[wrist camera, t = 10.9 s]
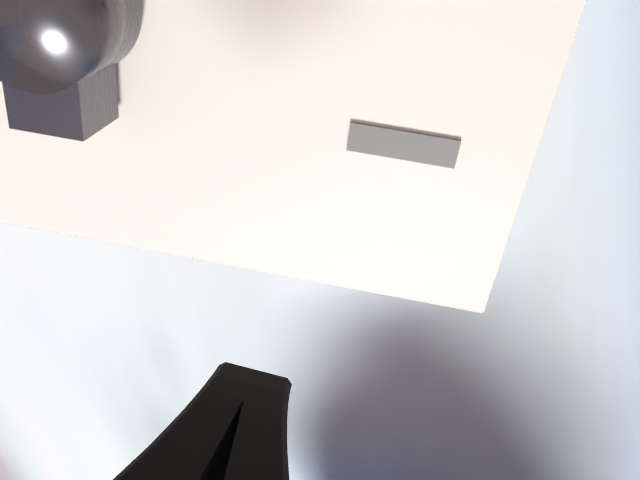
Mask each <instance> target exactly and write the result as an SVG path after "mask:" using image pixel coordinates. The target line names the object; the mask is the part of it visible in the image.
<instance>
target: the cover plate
mask: <svg viewBox="0 0 640 480" xmlns="http://www.w3.org/2000/svg"><path fill="white" fill-rule="evenodd" d="M586 1H587V0H142V24H141V30H140V33H139V36H138V39H137V41H136V43H135V45H134V47H133V48H132V50H131V51H130V52H129V54H128V55H127V56H126V57H125V58H124V59H122V60H121V61H120V62H118V63H116V75H117V92H118V110H119V118H117V119H116V120H114V121H113V122H111V123H110V124H109V125H107V126H106V127H104V128H103V129H101V130H100V131H98V132H97V133H95V134H94V135H92V136H91V137H90V138H88V139H87V140H85V141H84V142H83V141H77V140H72V139H66V138H60V137H55V136H49V135H43V134H38V133H32V132H26V131H21V130H15V129H10V128H9V124H8V117H7V111H6V105H5V98H4V92H3V86H2V82H1V81H0V222H1V223H7V224H12V225H17V226H22V227H28V228H33V229H38V230H44V231H49V232H54V233H60V234H65V235H70V236H75V237H81V238H86V239H91V240H97V241H102V242H107V243H113V244H118V245H123V246H128V247H134V248H139V249H144V250H150V251H155V252H160V253H166V254H171V255H176V256H181V257H187V258H192V259H197V260H203V261H208V262H213V263H219V264H224V265H229V266H234V267H240V268H245V269H250V270H256V271H261V272H266V273H272V274H277V275H282V276H287V277H293V278H298V279H303V280H309V281H314V282H319V283H325V284H330V285H335V286H340V287H346V288H351V289H356V290H362V291H367V292H372V293H378V294H383V295H388V296H393V297H399V298H404V299H409V300H415V301H420V302H425V303H431V304H436V305H441V306H446V307H452V308H457V309H462V310H468V311H473V312H478V313H484V310H485V307H486V304H487V301H488V298H489V295H490V292H491V289H492V286H493V283H494V280H495V277H496V274H497V270H498V267H499V264H500V261H501V258H502V255H503V252H504V249H505V246H506V243H507V240H508V237H509V234H510V231H511V228H512V225H513V222H514V219H515V216H516V213H517V210H518V207H519V204H520V201H521V198H522V195H523V192H524V189H525V186H526V183H527V179H528V176H529V173H530V170H531V167H532V164H533V161H534V158H535V155H536V152H537V149H538V146H539V143H540V140H541V137H542V134H543V131H544V128H545V125H546V122H547V119H548V116H549V113H550V110H551V107H552V104H553V101H554V98H555V95H556V92H557V88H558V85H559V82H560V79H561V76H562V73H563V70H564V67H565V64H566V61H567V58H568V55H569V52H570V49H571V46H572V43H573V40H574V37H575V34H576V31H577V28H578V25H579V22H580V19H581V16H582V13H583V10H584V7H585V4H586Z"/></svg>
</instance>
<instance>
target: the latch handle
mask: <svg viewBox="0 0 640 480" xmlns="http://www.w3.org/2000/svg"><path fill="white" fill-rule="evenodd" d="M141 24H142V0H0V81H1V82H2V86H3V92H4V98H5V105H6V111H7V117H8V124H9V128H10V129H15V130H21V131H26V132H32V133H38V134H43V135H49V136H55V137H60V138H66V139H72V140H77V141H83V142H84V141H85V140H87V139H88V138H90V137H91V136H92V135H94V134H95V133H97V132H98V131H100V130H101V129H103V128H104V127H106V126H107V125H109V124H110V123H111V122H113V121H114V120H116V119H117V118H119V110H118V92H117V75H116V63H118V62H120V61H121V60H122V59H124V58H125V57H126V56H127V55H128V54H129V52H130V51H131V50H132V48H133V47H134V45H135V43H136V41H137V39H138V36H139V33H140V30H141Z"/></svg>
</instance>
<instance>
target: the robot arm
mask: <svg viewBox="0 0 640 480" xmlns="http://www.w3.org/2000/svg"><path fill="white" fill-rule="evenodd" d="M291 385H292V384H291V383H290V381H289V380H288V378H285V377H281V376H277V375H273V374H269V373H265V372H262V371H258V370H254V369H250V368H246V367H242V366H238V365H235V364H231V363H227V362H225V363H223V364H221V365H219V366H218V368H217V369H216V371H215V372H214V373H213V375H212V376H211V377H210V379H209V380H208V381H207V383H206V384H205V385H204V386H203V388H202V389H201V390H200V391H199V393H198V394H197V395H196V396H195V397H194V398H193V400H192V401H191V402H190V403H189V404H188V405H187V406H186V408H185V409H184V410H183V411H182V412H181V413H180V414H179V415H178V416H177V417H176V418H175V419H174V420H173V422H172V423H171V424H170V425H169V426H168V427H167V428H166V429H165V430H164V431H163V432H162V433H161V434H160V435H159V436H158V437H157V438H156V439H155V440H154V441H153V442H152V443H151V444H150V445H149V446H148V447H147V448H146V449H145V450H144V451H143V452H142V453H141V454H140V455H139V456H138V457H137V458H136V459H134V460H133V461H132V462H131V463H130V464H129V465H128V466H127V467H126V468H125V469H124V470H123V471H122V472H121V473H120V474H118V475H117V476H116V477H115V478H114V479H113V480H289V470H288V455H287V412H288V401H289V394H290V389H291Z"/></svg>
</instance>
